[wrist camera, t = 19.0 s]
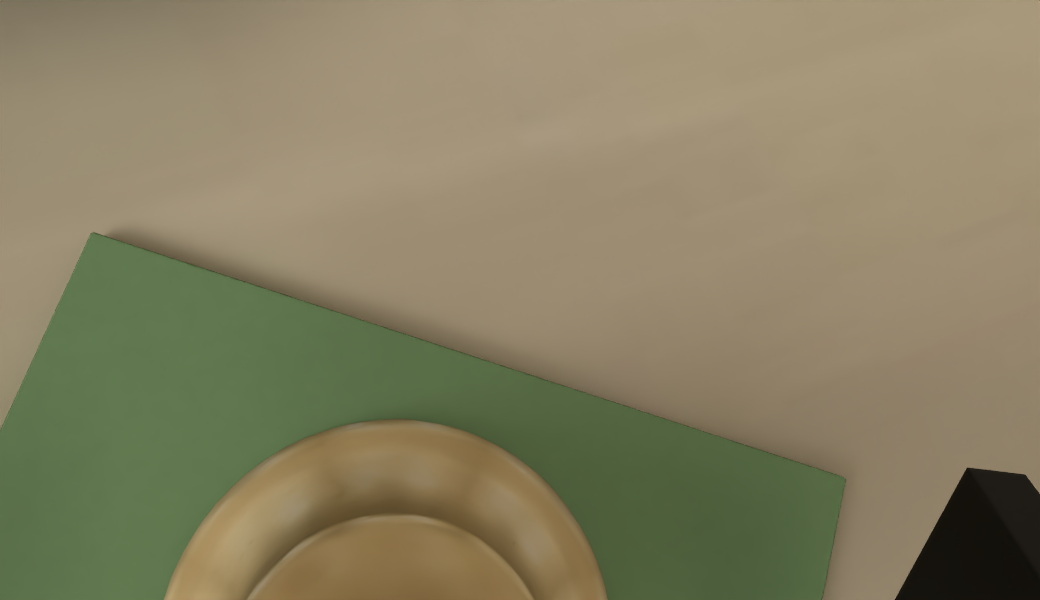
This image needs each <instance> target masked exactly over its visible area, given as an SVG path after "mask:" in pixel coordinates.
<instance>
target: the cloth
mask: <svg viewBox="0 0 1040 600" xmlns="http://www.w3.org/2000/svg"><path fill="white" fill-rule="evenodd" d="M386 419H411V420H415V421H423V422H430V423H437V424H441V425H446V426H450V427H454V428H458V429H461V430H463V431H466V432H469V433H472V434H474V435H477V436H479V437H481V438H483V439H485V440H487V441H489V442H491V443H493V444H495V445H497V446H499V447H501V448H503V449H505V450H506V451H508V452H510V453H511V454H513V455H514V456H516V457H517V458H518V459H520V460H521V461H522V462H524V463H525V464H526V465H528V466H529V467H530V468H531V469H533V470H534V471H535V472H536V473H538V474H539V475H540V476H541V477H542V478H543V479H544V480H545V481H546V482H547V483H548V484H549V485H550V486H551V487H552V489H553V490H554V491H555V492H556V493H557V494H558V495H559V497H560V498H561V499H562V501H563V502H564V503H565V504H566V506H567V507H568V508H569V510H570V511H571V513H572V515H573V516H574V518H575V519H576V521H577V522H578V524H579V525H580V527H581V529H582V530H583V532H584V534H585V536H586V538H587V539H588V541H589V543H590V546H591V548H592V550H593V553H594V555H595V557H596V560H597V563H598V565H599V568H600V571H601V574H602V577H603V581H604V585H605V589H606V594H607V599H608V600H822V598H823V593H824V588H825V583H826V578H827V573H828V567H829V562H830V557H831V552H832V547H833V542H834V537H835V532H836V527H837V522H838V517H839V512H840V507H841V502H842V497H843V492H844V487H845V482H846V478H844V477H842V476H839V475H836V474H833V473H829V472H826V471H823V470H820V469H817V468H814V467H811V466H808V465H805V464H802V463H799V462H796V461H793V460H790V459H787V458H783V457H780V456H777V455H774V454H771V453H768V452H765V451H762V450H759V449H756V448H753V447H750V446H747V445H744V444H741V443H738V442H734V441H731V440H728V439H725V438H722V437H719V436H716V435H713V434H710V433H707V432H704V431H701V430H698V429H695V428H692V427H688V426H685V425H682V424H679V423H676V422H673V421H670V420H667V419H664V418H661V417H658V416H655V415H652V414H649V413H646V412H643V411H639V410H636V409H633V408H630V407H627V406H624V405H621V404H618V403H615V402H612V401H609V400H606V399H603V398H600V397H597V396H593V395H590V394H587V393H584V392H581V391H578V390H575V389H572V388H569V387H566V386H563V385H560V384H557V383H554V382H551V381H548V380H544V379H541V378H538V377H535V376H532V375H529V374H526V373H523V372H520V371H517V370H514V369H511V368H508V367H505V366H502V365H499V364H495V363H492V362H489V361H486V360H483V359H480V358H477V357H474V356H471V355H468V354H465V353H462V352H459V351H456V350H453V349H449V348H446V347H443V346H440V345H437V344H434V343H431V342H428V341H425V340H422V339H419V338H416V337H413V336H410V335H407V334H404V333H400V332H397V331H394V330H391V329H388V328H385V327H382V326H379V325H376V324H373V323H370V322H367V321H364V320H361V319H358V318H354V317H351V316H348V315H345V314H342V313H339V312H336V311H333V310H330V309H327V308H324V307H321V306H318V305H315V304H312V303H309V302H305V301H302V300H299V299H296V298H293V297H290V296H287V295H284V294H281V293H278V292H275V291H272V290H269V289H266V288H263V287H260V286H256V285H253V284H250V283H247V282H244V281H241V280H238V279H235V278H232V277H229V276H226V275H223V274H220V273H217V272H214V271H210V270H207V269H204V268H201V267H198V266H195V265H192V264H189V263H186V262H183V261H180V260H177V259H174V258H171V257H168V256H165V255H161V254H158V253H155V252H152V251H149V250H146V249H143V248H140V247H137V246H134V245H131V244H128V243H125V242H122V241H119V240H115V239H112V238H109V237H106V236H103V235H100V234H97V233H91V234H90V236H89V239H88V241H87V243H86V245H85V247H84V249H83V252H82V254H81V256H80V258H79V260H78V262H77V265H76V267H75V269H74V271H73V273H72V276H71V278H70V280H69V282H68V284H67V286H66V289H65V291H64V293H63V295H62V297H61V299H60V302H59V304H58V306H57V308H56V310H55V313H54V315H53V317H52V319H51V321H50V323H49V326H48V328H47V330H46V332H45V334H44V336H43V339H42V341H41V343H40V345H39V347H38V350H37V352H36V354H35V356H34V358H33V360H32V363H31V365H30V367H29V369H28V371H27V373H26V376H25V378H24V380H23V382H22V384H21V386H20V389H19V391H18V393H17V395H16V397H15V400H14V402H13V404H12V406H11V408H10V410H9V413H8V415H7V417H6V419H5V421H4V423H3V426H2V428H1V430H0V600H164V597H165V594H166V591H167V588H168V585H169V582H170V579H171V576H172V574H173V572H174V570H175V568H176V566H177V564H178V562H179V560H180V558H181V556H182V554H183V552H184V550H185V548H186V547H187V545H188V543H189V541H190V540H191V538H192V537H193V535H194V533H195V532H196V530H197V529H198V527H199V525H200V524H201V522H202V521H203V520H204V518H205V517H206V516H207V515H208V513H209V512H210V511H211V509H212V508H213V507H214V506H215V504H216V503H217V502H218V501H219V500H220V499H221V498H222V497H223V496H224V495H225V494H226V493H227V491H228V490H229V489H230V488H231V487H232V486H233V485H235V484H236V483H237V482H238V481H239V480H240V479H241V478H242V477H243V476H244V475H245V474H247V473H248V472H249V471H251V470H252V469H253V468H255V467H256V466H257V465H259V464H260V463H261V462H263V461H264V460H265V459H267V458H269V457H270V456H272V455H274V454H275V453H277V452H278V451H280V450H282V449H283V448H285V447H287V446H289V445H291V444H293V443H295V442H297V441H299V440H301V439H304V438H306V437H309V436H312V435H314V434H317V433H320V432H323V431H326V430H329V429H332V428H336V427H339V426H343V425H347V424H352V423H357V422H365V421H375V420H386Z"/></svg>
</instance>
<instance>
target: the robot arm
mask: <svg viewBox="0 0 1040 600" xmlns="http://www.w3.org/2000/svg"><path fill="white" fill-rule="evenodd" d="M895 600H1040V494H1039V493H1038V491H1037V490H1036V488H1035V487H1034V486H1033V484H1032V483H1031V482H1030V480H1029V479H1028V478H1027V476H1026V475H1024V474H1016V473H1007V472H999V471H991V470H983V469H974V468H967V469H966V471H965V472H964V474H963V476H962V478H961V480H960V481H959V483H958V485H957V487H956V489H955V491H954V492H953V494H952V496H951V498H950V500H949V502H948V503H947V505H946V507H945V509H944V511H943V513H942V514H941V516H940V518H939V520H938V522H937V524H936V525H935V527H934V529H933V531H932V533H931V535H930V536H929V538H928V540H927V542H926V544H925V546H924V547H923V549H922V551H921V553H920V555H919V557H918V558H917V560H916V562H915V564H914V566H913V568H912V569H911V571H910V573H909V575H908V577H907V578H906V580H905V582H904V584H903V586H902V588H901V589H900V591H899V593H898V595H897V597H896V599H895Z"/></svg>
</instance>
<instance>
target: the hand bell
mask: <svg viewBox="0 0 1040 600" xmlns="http://www.w3.org/2000/svg"><path fill="white" fill-rule="evenodd" d="M164 600H608V599H607V594H606V589H605V585H604V581H603V577H602V574H601V571H600V568H599V565H598V563H597V560H596V557H595V555H594V553H593V550H592V548H591V546H590V543H589V541H588V539H587V538H586V536H585V534H584V532H583V530H582V529H581V527H580V525H579V524H578V522H577V521H576V519H575V518H574V516H573V515H572V513H571V511H570V510H569V508H568V507H567V506H566V504H565V503H564V502H563V501H562V499H561V498H560V497H559V495H558V494H557V493H556V492H555V491H554V490H553V489H552V487H551V486H550V485H549V484H548V483H547V482H546V481H545V480H544V479H543V478H542V477H541V476H540V475H539V474H538V473H536V472H535V471H534V470H533V469H531V468H530V467H529V466H528V465H526V464H525V463H524V462H522V461H521V460H520V459H518V458H517V457H516V456H514V455H513V454H511V453H510V452H508V451H506V450H505V449H503V448H501V447H499V446H497V445H495V444H493V443H491V442H489V441H487V440H485V439H483V438H481V437H479V436H477V435H474V434H472V433H469V432H466V431H463V430H461V429H458V428H454V427H450V426H446V425H441V424H437V423H430V422H423V421H415V420H411V419H386V420H375V421H365V422H357V423H352V424H347V425H343V426H339V427H336V428H332V429H329V430H326V431H323V432H320V433H317V434H314V435H312V436H309V437H306V438H304V439H301V440H299V441H297V442H295V443H293V444H291V445H289V446H287V447H285V448H283V449H282V450H280V451H278V452H277V453H275V454H274V455H272V456H270V457H269V458H267V459H265V460H264V461H263V462H261V463H260V464H259V465H257V466H256V467H255V468H253V469H252V470H251V471H249V472H248V473H247V474H245V475H244V476H243V477H242V478H241V479H240V480H239V481H238V482H237V483H236V484H235V485H233V486H232V487H231V488H230V489H229V490H228V491H227V493H226V494H225V495H224V496H223V497H222V498H221V499H220V500H219V501H218V502H217V503H216V504H215V506H214V507H213V508H212V509H211V511H210V512H209V513H208V515H207V516H206V517H205V518H204V520H203V521H202V522H201V524H200V525H199V527H198V529H197V530H196V532H195V533H194V535H193V537H192V538H191V540H190V541H189V543H188V545H187V547H186V548H185V550H184V552H183V554H182V556H181V558H180V560H179V562H178V564H177V566H176V568H175V570H174V572H173V574H172V576H171V579H170V582H169V585H168V588H167V591H166V594H165V597H164Z"/></svg>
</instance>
